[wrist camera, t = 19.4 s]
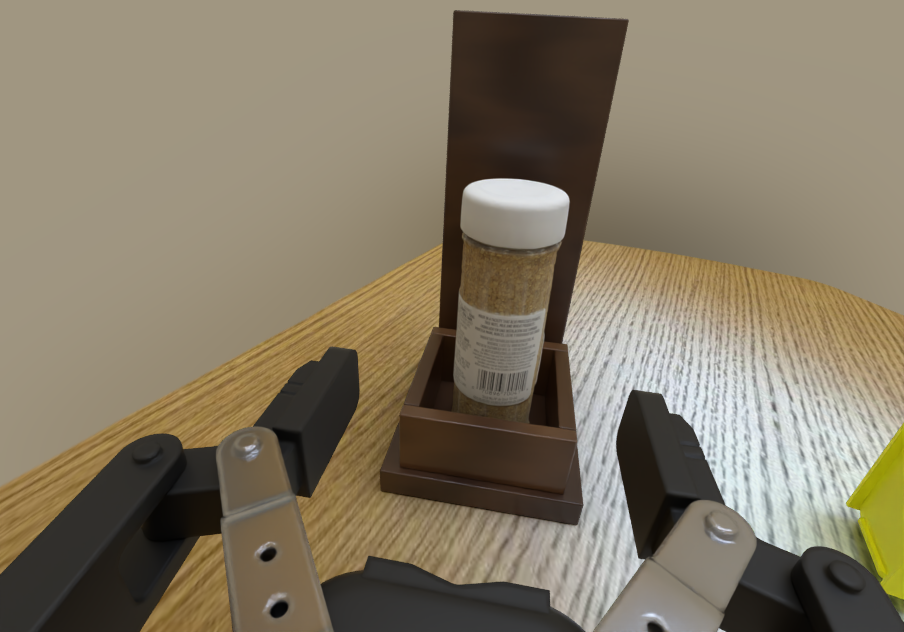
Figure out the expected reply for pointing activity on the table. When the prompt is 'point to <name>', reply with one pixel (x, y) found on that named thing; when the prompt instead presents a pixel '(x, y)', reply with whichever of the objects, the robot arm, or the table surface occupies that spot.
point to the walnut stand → (574, 171)
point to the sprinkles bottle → (505, 293)
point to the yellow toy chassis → (884, 514)
